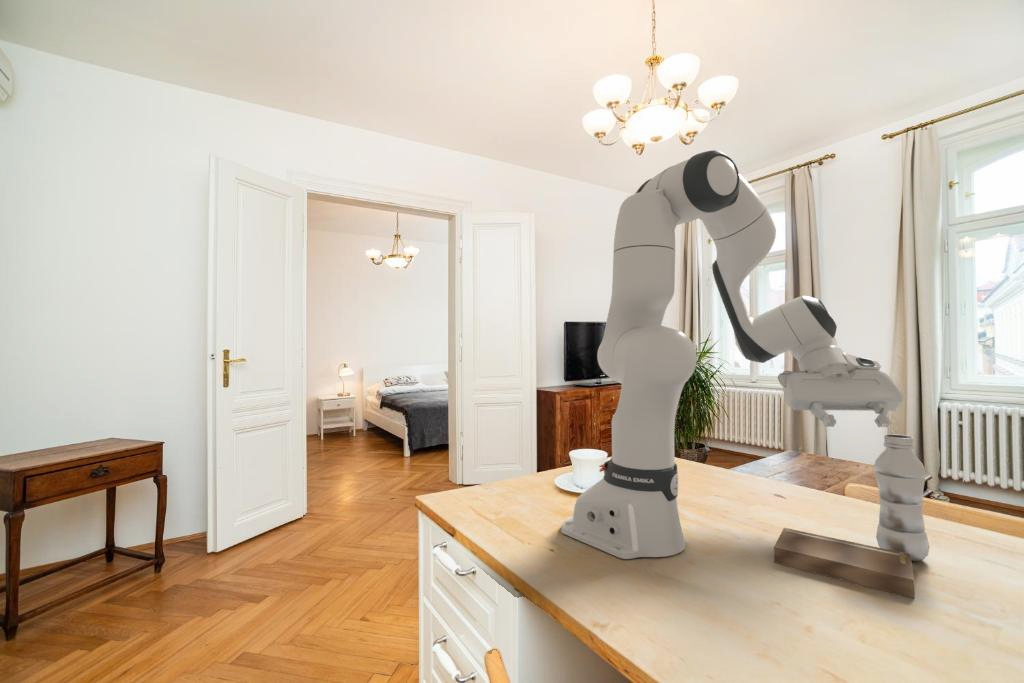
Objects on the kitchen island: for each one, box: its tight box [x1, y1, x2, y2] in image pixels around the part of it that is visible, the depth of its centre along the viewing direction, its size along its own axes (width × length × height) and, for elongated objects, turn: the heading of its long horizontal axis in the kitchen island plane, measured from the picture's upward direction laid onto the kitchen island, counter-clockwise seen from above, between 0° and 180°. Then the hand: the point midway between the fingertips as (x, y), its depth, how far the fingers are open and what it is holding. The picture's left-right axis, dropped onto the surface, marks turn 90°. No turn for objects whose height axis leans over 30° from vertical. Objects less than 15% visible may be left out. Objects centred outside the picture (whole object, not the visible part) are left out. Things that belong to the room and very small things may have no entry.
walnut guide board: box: [773, 527, 916, 599], centre depth 71 cm, size 17×10×3 cm, turn 51°
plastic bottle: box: [873, 433, 930, 562], centre depth 74 cm, size 6×7×20 cm
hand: (857, 425), depth 85 cm, fingers open, 8 cm apart
